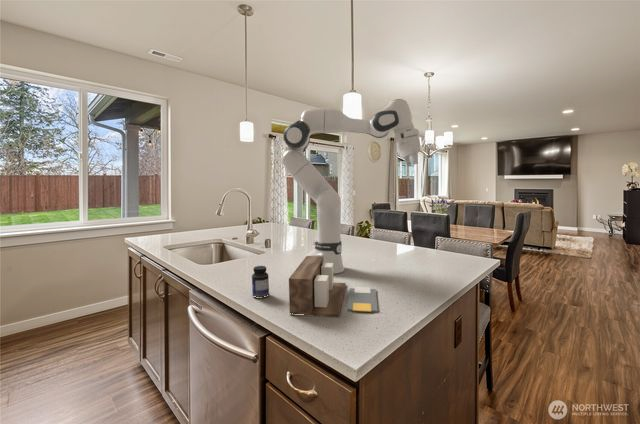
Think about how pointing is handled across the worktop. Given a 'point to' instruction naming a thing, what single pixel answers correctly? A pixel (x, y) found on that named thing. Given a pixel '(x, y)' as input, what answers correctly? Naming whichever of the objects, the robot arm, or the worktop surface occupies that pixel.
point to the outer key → (321, 290)
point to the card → (362, 300)
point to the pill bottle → (260, 282)
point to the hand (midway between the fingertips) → (412, 165)
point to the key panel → (312, 290)
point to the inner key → (328, 273)
